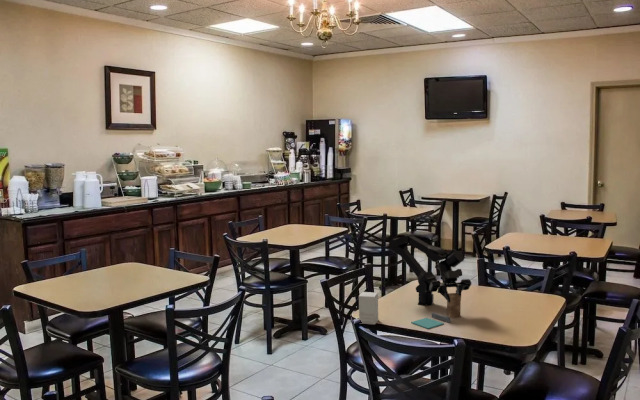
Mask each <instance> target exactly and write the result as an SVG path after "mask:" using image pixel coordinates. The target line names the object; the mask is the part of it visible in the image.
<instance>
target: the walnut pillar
mask: <svg viewBox="0 0 640 400" xmlns="http://www.w3.org/2000/svg"><path fill="white" fill-rule="evenodd" d="M448 295H449V297H450V302H448V301H447V300H446V316H447V317H449V318H450V319H451V318H452V319H453V318H461V307H462V305H461V301H462V295H461V296H460V295H459V294H457V293H456V292H452V293H451V292H450V293H449V292H448Z"/></svg>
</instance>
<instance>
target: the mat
mask: <svg viewBox="0 0 640 400" xmlns="http://www.w3.org/2000/svg"><path fill="white" fill-rule="evenodd" d="M410 324H413V325H415V326H418V327H420V328H423V329H427V330H430V329H434V328H436V327H440V326H443V325H444V324H445V322H442V321H439V320H437V319H434V318H433V319H432V318H430V317H423V318H421V319H418V320H414V321H411V322H410Z"/></svg>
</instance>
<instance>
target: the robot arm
mask: <svg viewBox="0 0 640 400" xmlns="http://www.w3.org/2000/svg"><path fill="white" fill-rule="evenodd" d="M408 246H411V247H413V248H415V249H417V250H418V251H420V252H422V254H423V253H424V254H425V256H426V257H427V259H429V260H430V261H431V262H434V263H436V264H435V266H434V268H435V269H438V270H439V274H440V280H438V279H437V277H436V276H435V275H434V273H433V272H432V271H426V270H425V268H424V267H422V265H421V264H420V263H419V261H418V260H417V259H416V257H414V255H413V254H412V253H411V251H409V249H408ZM388 248H389V249H390V250H391V251H392V252H393V253H395V254H396V255H398V256H400V257H401V259H402V260H403V261H404V262H405V263H406V265H407V266H408V267H409V268H410V270H411V271H412V272H413V273H414V275H415V276H416V278H417V283H418V285H417V286H416V287H415V291H416V293H418V302H417V305H421V306H432V305H433V304H434V297H435V296H434V294H433V293H435V292H437V294H440V295H441V296H442V297H443V298H444V299H445V300H446V302H447V301H448V302H450V297H449V295H448V293H449V292H448V288H455V293H457V294H459V295H460V296H461V297H462V292H463V291H467V290H468V291H469V289H470V287H471V286H472V281H471V280H470V279H469V278H465V279H464V278H463V279H461V280H460V282H457V281H458V278H460V277H462V276H463V271H462V269H461V268H457V269H456V270H453V269H452V268H456V267H457V266H459V265H460V264H461V263H462V262H463V261H464V260H465V258H464V255H463V254H462V253H461V252H459V251H458V250H457V249H456V248H454V249H452V250H451V251H450V252H447V251H445V250H444V248H441V247H439V246H434V245H430V244H428V243H427V242H425V241H423V240H422V239H420V238H418V237H417V236H414V234H410V233H409V234H405V235H404V236H401V237H398V238H393V239H392V238H391V240H389V243H388ZM441 281H442V282H441Z"/></svg>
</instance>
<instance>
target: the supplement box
mask: <svg viewBox="0 0 640 400" xmlns="http://www.w3.org/2000/svg"><path fill="white" fill-rule="evenodd" d="M358 317H359V318H358V319H359V320H361V322H362V323H361V324H365V325H376V324H377V322H378V321H379V293H378V292H371V291H369V292H368V291H362V292H361V293H360V294H359V295H358Z"/></svg>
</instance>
